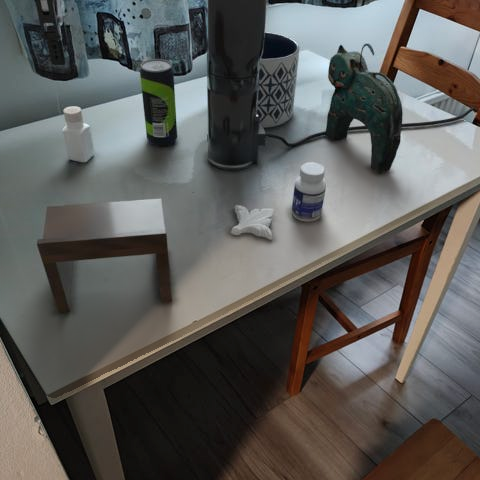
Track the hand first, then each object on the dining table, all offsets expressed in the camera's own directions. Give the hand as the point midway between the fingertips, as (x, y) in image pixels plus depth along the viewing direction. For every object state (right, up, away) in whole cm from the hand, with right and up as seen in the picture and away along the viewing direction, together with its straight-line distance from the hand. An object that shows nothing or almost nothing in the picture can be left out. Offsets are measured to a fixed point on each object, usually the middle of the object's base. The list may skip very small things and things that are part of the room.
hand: (60, 54), depth 88 cm
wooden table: (+12, -39, -10) cm, 42 cm away
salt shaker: (-1, -13, +14) cm, 19 cm away
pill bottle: (+42, -26, +3) cm, 50 cm away
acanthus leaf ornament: (+32, -29, +1) cm, 43 cm away
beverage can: (+14, -8, +20) cm, 26 cm away
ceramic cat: (+54, -10, +19) cm, 58 cm away
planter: (+34, +2, +30) cm, 45 cm away
